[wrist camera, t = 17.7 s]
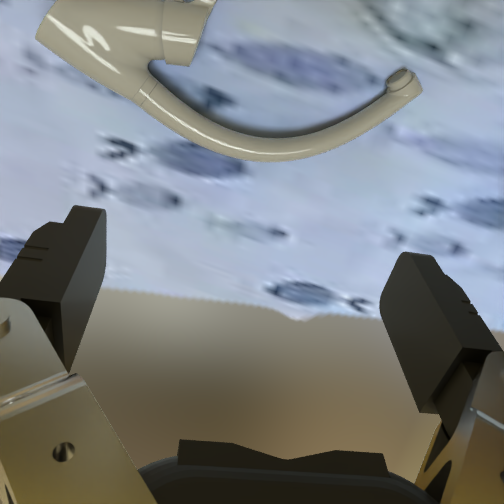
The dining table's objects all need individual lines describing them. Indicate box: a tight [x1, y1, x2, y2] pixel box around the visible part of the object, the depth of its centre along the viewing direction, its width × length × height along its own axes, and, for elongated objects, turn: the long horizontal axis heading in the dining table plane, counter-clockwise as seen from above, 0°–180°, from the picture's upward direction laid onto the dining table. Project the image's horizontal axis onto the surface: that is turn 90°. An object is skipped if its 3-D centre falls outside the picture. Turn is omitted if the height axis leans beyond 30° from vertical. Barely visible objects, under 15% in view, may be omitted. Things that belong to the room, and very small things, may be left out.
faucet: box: [35, 0, 423, 162], centre depth 38 cm, size 5×28×28 cm
